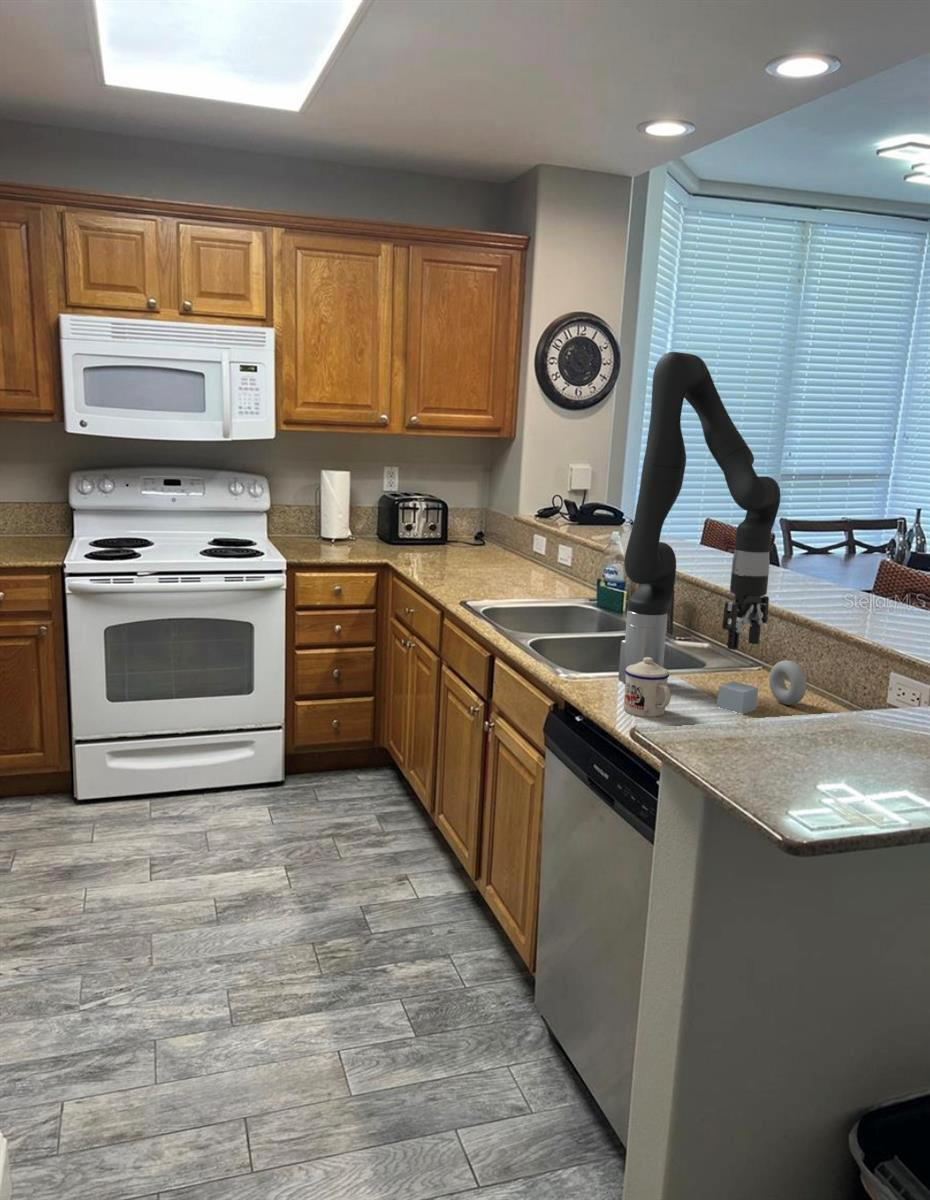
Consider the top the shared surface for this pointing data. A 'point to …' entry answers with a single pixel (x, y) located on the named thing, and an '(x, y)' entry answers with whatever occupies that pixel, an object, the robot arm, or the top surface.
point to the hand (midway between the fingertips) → (743, 646)
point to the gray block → (737, 697)
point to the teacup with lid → (646, 689)
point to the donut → (796, 682)
